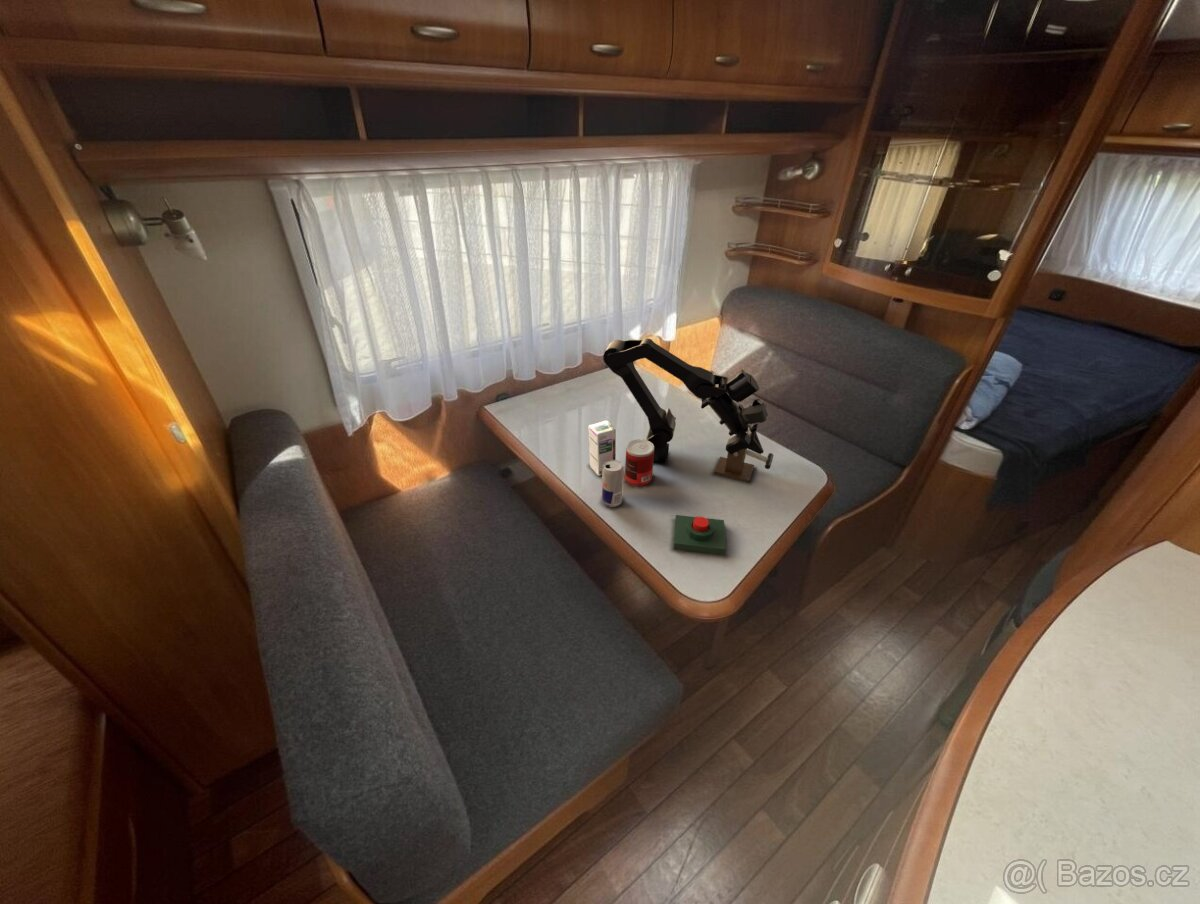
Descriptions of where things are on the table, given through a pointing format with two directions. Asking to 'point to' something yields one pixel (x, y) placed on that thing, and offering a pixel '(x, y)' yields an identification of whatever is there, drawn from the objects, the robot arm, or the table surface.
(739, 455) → the bracket
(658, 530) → the table surface
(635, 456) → the canned food
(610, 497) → the energy drink
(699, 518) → the button
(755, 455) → the lever
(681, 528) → the button box
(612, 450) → the syrup box
